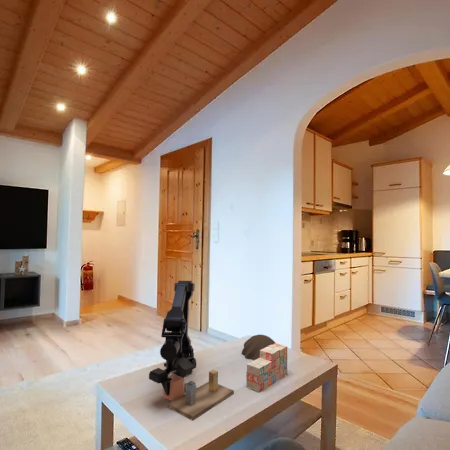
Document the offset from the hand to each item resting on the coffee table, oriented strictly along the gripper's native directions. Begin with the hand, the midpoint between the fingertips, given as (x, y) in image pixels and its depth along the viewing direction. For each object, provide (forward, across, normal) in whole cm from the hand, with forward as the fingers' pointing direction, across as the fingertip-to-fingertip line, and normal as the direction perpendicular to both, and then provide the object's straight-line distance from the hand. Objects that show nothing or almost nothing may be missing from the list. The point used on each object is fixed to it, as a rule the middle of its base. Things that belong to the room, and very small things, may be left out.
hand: (173, 392), depth 114 cm
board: (+2, +5, -10) cm, 11 cm away
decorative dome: (+2, +56, -3) cm, 56 cm away
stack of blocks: (+2, +34, -20) cm, 39 cm away
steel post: (+2, -1, -10) cm, 10 cm away
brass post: (+2, +11, -10) cm, 15 cm away
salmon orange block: (+2, 0, 0) cm, 2 cm away
